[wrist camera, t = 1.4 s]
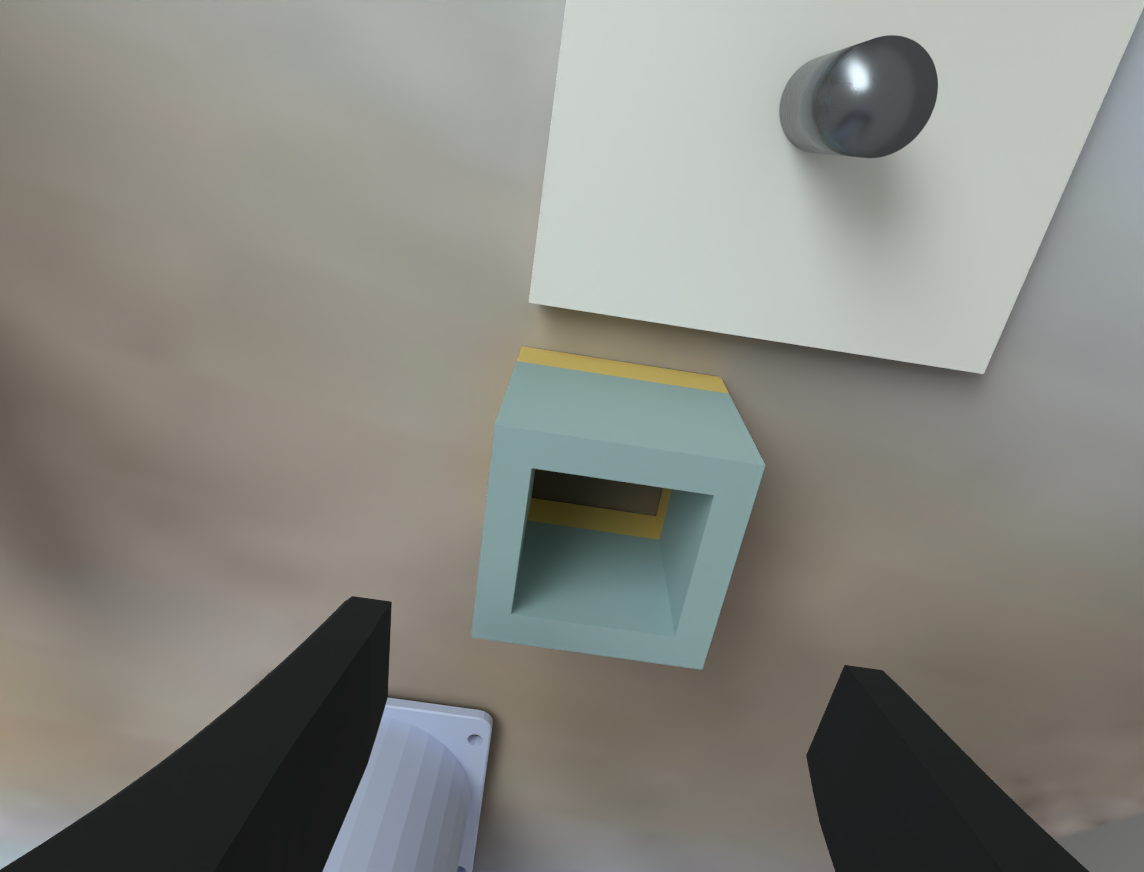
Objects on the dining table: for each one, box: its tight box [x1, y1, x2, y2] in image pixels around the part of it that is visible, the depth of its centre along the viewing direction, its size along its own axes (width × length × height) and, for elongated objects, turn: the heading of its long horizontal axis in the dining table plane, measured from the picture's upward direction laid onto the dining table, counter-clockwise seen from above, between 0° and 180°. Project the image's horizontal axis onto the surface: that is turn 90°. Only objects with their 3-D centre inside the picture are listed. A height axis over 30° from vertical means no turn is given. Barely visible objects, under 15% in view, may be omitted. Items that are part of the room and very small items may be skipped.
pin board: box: [529, 0, 1144, 374], centre depth 13 cm, size 10×11×4 cm
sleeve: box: [471, 346, 765, 670], centre depth 16 cm, size 5×5×5 cm
